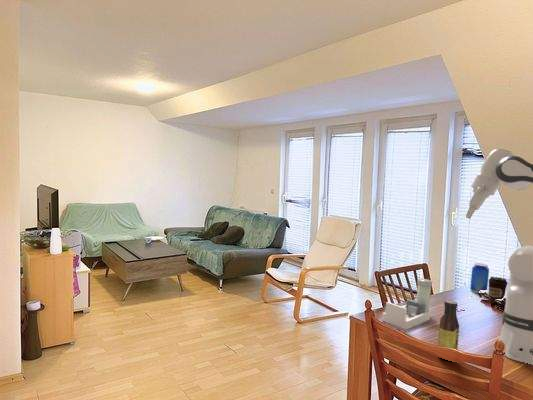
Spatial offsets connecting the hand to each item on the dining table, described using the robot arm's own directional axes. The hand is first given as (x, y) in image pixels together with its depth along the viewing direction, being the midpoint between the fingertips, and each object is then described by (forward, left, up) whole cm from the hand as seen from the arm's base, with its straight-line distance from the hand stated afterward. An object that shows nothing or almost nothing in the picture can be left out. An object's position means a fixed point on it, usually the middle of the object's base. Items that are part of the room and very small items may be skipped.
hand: (467, 217), depth 159 cm
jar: (+18, -4, -47) cm, 51 cm away
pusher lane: (+18, +10, -47) cm, 51 cm away
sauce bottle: (-9, +31, -47) cm, 57 cm away
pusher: (+18, +3, -46) cm, 50 cm away
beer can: (+17, -67, -47) cm, 84 cm away
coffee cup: (+4, -55, -47) cm, 73 cm away
